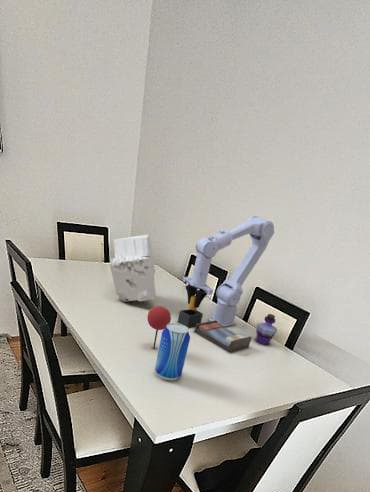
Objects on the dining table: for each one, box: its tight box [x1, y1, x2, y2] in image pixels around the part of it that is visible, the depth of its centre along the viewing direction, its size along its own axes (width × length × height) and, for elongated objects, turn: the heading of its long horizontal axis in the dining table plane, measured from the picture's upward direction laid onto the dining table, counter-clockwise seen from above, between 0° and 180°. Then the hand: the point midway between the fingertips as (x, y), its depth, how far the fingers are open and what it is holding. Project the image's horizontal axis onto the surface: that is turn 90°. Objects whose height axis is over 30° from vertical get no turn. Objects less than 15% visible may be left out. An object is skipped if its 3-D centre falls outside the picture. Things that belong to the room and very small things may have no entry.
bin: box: [177, 308, 204, 328], centre depth 158 cm, size 8×6×5 cm
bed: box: [194, 320, 252, 354], centre depth 151 cm, size 12×19×4 cm, turn 44°
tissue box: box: [109, 233, 157, 303], centre depth 163 cm, size 20×16×25 cm
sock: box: [188, 295, 198, 310], centre depth 154 cm, size 3×3×5 cm
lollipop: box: [146, 305, 172, 350], centre depth 129 cm, size 8×8×15 cm
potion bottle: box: [255, 313, 279, 346], centre depth 156 cm, size 9×9×12 cm
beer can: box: [154, 322, 191, 382], centre depth 115 cm, size 8×8×16 cm
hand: (193, 305), depth 155 cm, fingers closed on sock, 3 cm apart
